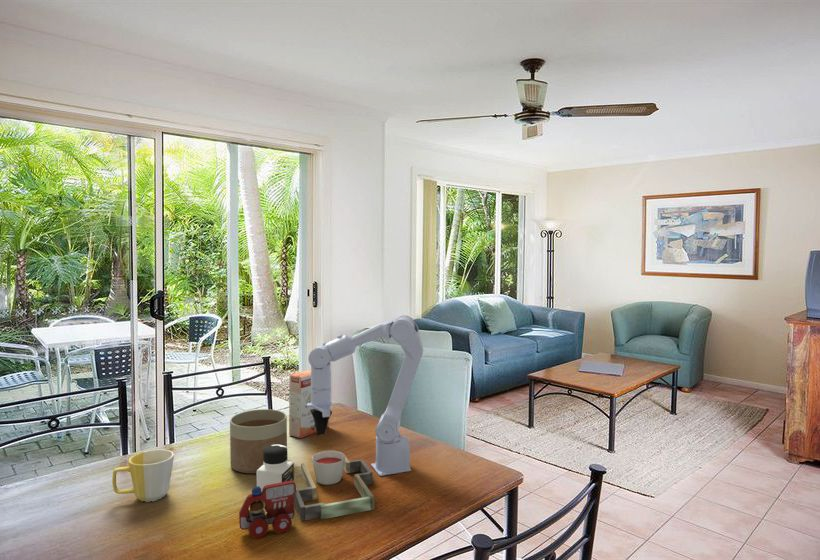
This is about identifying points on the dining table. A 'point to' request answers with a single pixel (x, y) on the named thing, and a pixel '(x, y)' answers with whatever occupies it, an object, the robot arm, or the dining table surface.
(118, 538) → the dining table surface
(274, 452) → the medicine bottle
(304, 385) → the cracker box
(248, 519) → the toy fire truck
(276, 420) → the planter
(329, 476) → the candle
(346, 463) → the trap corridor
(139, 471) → the mug
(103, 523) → the dining table surface
